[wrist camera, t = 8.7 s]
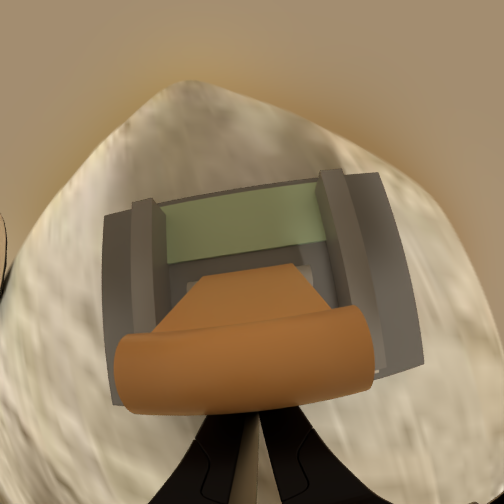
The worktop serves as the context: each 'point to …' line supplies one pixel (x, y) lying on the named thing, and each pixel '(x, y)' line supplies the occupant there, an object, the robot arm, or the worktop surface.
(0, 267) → the milk container
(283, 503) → the robot arm
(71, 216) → the worktop surface
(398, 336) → the grey switch housing
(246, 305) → the breaker lever
